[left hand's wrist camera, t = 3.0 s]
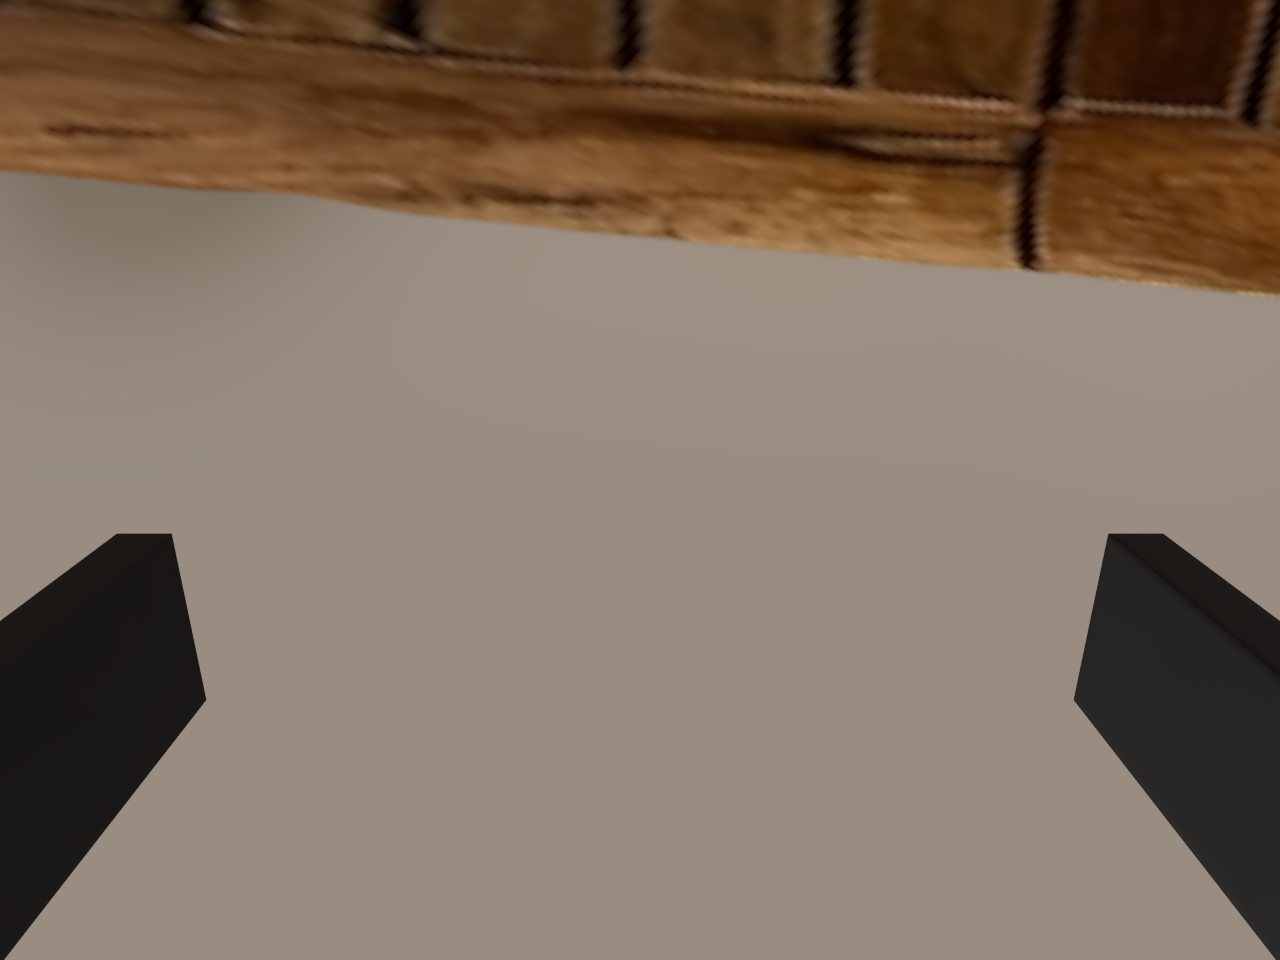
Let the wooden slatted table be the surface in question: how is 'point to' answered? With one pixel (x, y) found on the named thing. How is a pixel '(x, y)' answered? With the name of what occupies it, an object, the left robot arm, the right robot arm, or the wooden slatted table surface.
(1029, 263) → the wooden slatted table surface
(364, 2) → the wooden slatted table surface
